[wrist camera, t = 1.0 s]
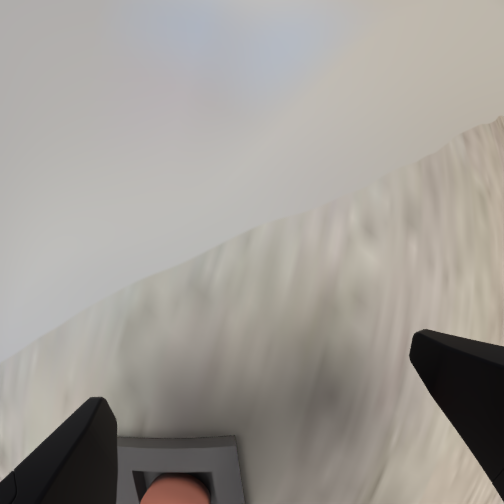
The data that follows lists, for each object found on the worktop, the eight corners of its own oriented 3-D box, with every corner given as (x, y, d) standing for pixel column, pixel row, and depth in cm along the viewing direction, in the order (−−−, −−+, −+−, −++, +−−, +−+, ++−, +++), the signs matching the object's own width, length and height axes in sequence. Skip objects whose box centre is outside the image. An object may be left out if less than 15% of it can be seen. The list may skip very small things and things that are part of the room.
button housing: (248, 527, 16) (252, 545, 13) (138, 528, 14) (129, 544, 12) (234, 435, 19) (236, 445, 16) (117, 436, 18) (102, 445, 15)
